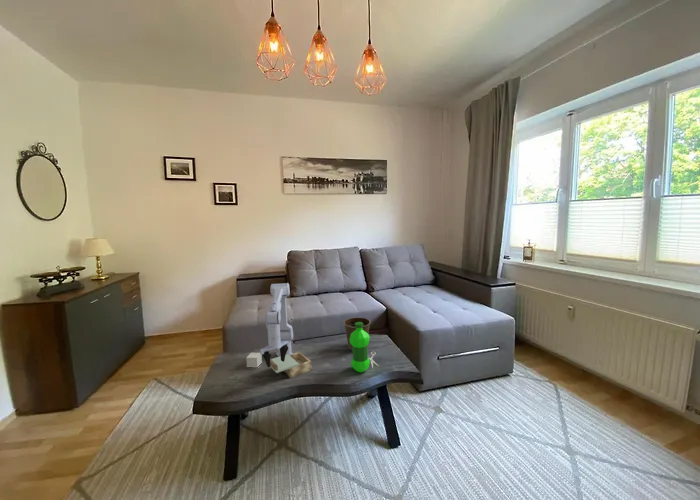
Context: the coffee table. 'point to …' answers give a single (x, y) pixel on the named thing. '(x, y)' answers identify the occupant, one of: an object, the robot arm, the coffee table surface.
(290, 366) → the lid
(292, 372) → the storage box
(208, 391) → the coffee table surface
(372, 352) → the scissors
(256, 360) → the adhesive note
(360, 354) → the plastic bottle
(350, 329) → the plant pot
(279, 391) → the coffee table surface
